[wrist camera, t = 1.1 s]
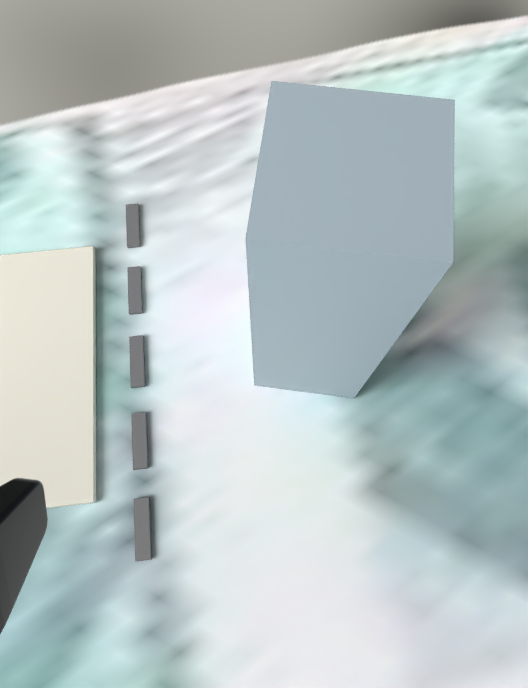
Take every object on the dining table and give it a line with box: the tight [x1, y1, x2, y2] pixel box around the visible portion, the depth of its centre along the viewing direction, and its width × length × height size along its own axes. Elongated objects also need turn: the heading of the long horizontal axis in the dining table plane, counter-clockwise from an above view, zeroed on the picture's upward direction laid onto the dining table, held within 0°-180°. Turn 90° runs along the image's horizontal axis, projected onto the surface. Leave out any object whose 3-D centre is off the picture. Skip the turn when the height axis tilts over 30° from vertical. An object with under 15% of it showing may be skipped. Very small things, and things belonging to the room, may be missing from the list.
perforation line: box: [126, 204, 152, 561], centre depth 23 cm, size 17×1×1 cm, turn 7°
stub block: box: [246, 81, 455, 398], centre depth 18 cm, size 4×4×12 cm
